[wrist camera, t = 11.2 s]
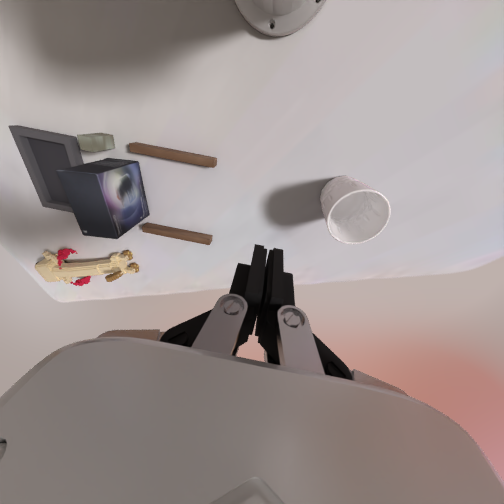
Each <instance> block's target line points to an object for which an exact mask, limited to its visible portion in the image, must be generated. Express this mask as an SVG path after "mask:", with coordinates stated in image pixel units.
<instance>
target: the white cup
mask: <svg viewBox="0 0 504 504" xmlns="http://www.w3.org/2000/svg"><path fill="white" fill-rule="evenodd" d="M320 201H321V205H322V211H323V215H324V218H325V221H326V225H327V228H328V231H329V233H330V234H331V236H332V237H333V238H335V239H336V240H337V241H339V242H342V243H346V244H359V243H363V242H366V241H368V240H370V239H372V238H374V237H375V236H377V235H378V234H379V233H380V232H381V231H382V230H383V229H384V228H385V226H386V225H387V223H388V221H389V218H390V212H391V210H390V204H389V202H388V200H387V199H386V197H385V196H384V195H382V194H381V193H379V192H378V191H376V190H374V189H373V188H371V187H370V186H368V185H366V184H365V183H363V182H361V181H359V180H356V179H355V178H352V177H349V176H340V177H335V178H334V179H332V180H331V181H329V182H327V184H326V185H325V186H324V188H323V189H322V191H321V196H320Z"/></svg>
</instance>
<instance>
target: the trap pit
mask: <svg viewBox="0 0 504 504" xmlns="http://www.w3.org/2000/svg"><path fill="white" fill-rule="evenodd" d="M9 129H10V131H11V133H12V136H13V138H14V140H15V143H16V145H17V147H18V150H19V152H20V154H21V157H22V159H23V161H24V164H25V166H26V168H27V171H28V173H29V175H30V178H31V180H32V182H33V185H34V187H35V189H36V192H37V194H38V196H39V199H40V201H41V203H42V206H43V207H48V208H53V209H58V210H63V211H68V212H73V210H72V208H71V205H70V203H69V200H68V198H67V196H66V193H65V191H64V189H63V186H62V184H61V182H60V179H59V177H58V175H57V172H56V170H60V169H66V168H70V167H75V166H78V165H83V164H84V163H83V160H82V156H81V152H80V149H79V145H78V142H77V138H76V137H74V136H69V135H64V134H59V133H54V132H49V131H44V130H39V129H33V128H28V127H23V126H18V125H16V126H9ZM73 213H74V212H73Z"/></svg>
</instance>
